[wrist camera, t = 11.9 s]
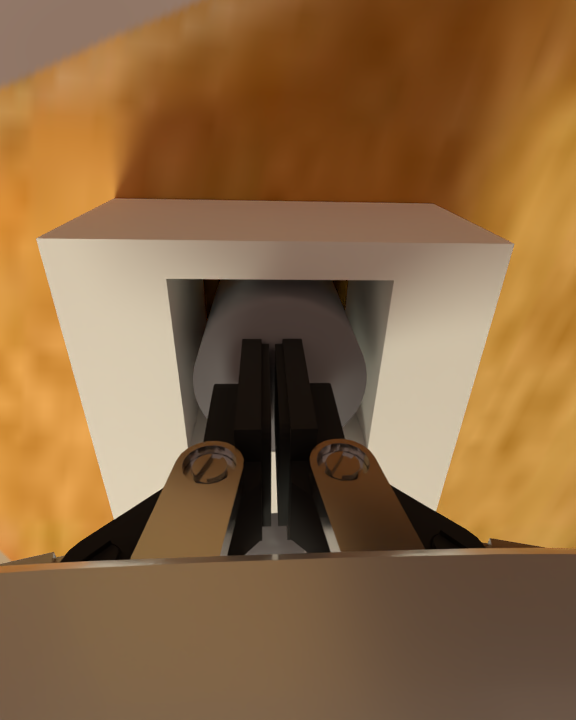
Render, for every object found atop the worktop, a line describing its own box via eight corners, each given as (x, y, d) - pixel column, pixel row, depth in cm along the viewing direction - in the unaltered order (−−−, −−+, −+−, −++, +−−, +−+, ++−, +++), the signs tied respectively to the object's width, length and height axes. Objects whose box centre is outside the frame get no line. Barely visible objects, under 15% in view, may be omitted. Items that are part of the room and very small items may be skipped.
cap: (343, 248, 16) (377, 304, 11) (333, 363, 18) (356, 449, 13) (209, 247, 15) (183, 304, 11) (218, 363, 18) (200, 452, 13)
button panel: (433, 203, 16) (514, 244, 11) (359, 597, 29) (379, 701, 24) (114, 198, 15) (36, 238, 10) (185, 602, 28) (167, 711, 23)
